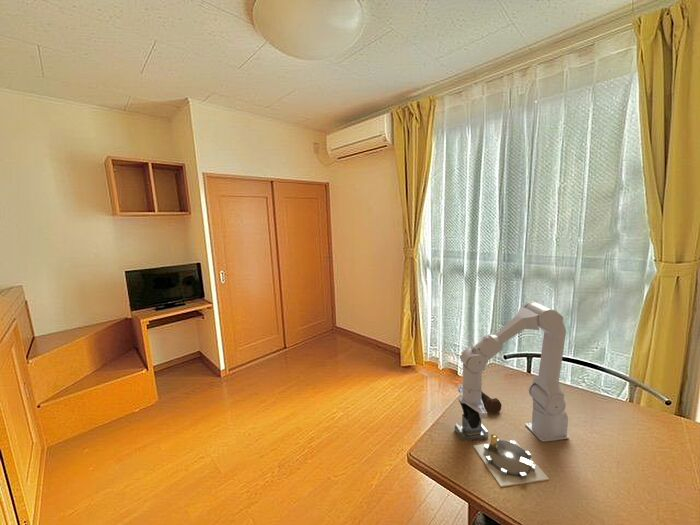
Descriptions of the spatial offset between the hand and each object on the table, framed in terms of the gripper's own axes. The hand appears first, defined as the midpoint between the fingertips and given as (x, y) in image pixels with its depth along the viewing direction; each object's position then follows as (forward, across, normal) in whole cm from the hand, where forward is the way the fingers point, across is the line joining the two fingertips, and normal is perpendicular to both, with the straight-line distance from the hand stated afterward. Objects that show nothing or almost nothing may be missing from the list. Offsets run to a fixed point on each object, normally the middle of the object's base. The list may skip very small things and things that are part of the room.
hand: (471, 423), depth 95 cm
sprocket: (+4, +12, +5) cm, 14 cm away
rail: (+4, 0, 0) cm, 4 cm away
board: (+4, +12, +5) cm, 14 cm away
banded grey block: (+2, 0, 0) cm, 2 cm away
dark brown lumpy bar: (+4, -16, +13) cm, 21 cm away
